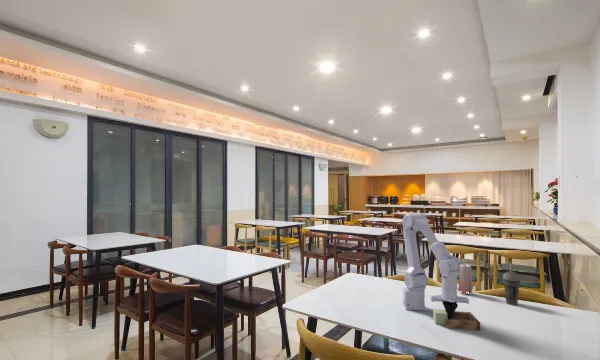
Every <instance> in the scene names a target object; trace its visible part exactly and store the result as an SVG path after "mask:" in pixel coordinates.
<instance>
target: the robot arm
mask: <svg viewBox="0 0 600 360" xmlns="http://www.w3.org/2000/svg"><path fill="white" fill-rule="evenodd" d="M401 221H402V222H401V223H402V233H403V238H404V239H403V240H404V241H403V242H404V245H405V253H406V259H407V264H408V268H407V269H406V270H405V272H404V283H405V284H404V285H405V286H406V287H404V288H403V290H402V292H403V296H402V297H403V299H402V302H403V306H404V308H405V310H408V311H421V312H423V311H426V312H427V311H428V309H427V307H426V306H425V305H426V303H425V301H426V299H425V297H426V296H425V293H426V292H425V291H426V290H425V289H426V288H427V286H428V285H429V278H428V276H427V274H426V270H425V269H423V268H422V267H421V266H422V265H421V261H420V260H421V259H420V256H419V247H418V243H417V242H418V241H417V235H416V234H417V233H418V231H419V232H421V234H422V235H423V236H424V238H425V239H426V240H427V241H428V243H429V244H430V250H431V252H432V253H433V255H434V257H435V258H436V260H437V261H438V265H437V266H438V268H439V270H440V276H441V294H438V295H437V294H436V295H430V301H431V302H434V303H435V302H439V303H440V302H441V303H442V306H443V308H444V310H445V311H446V313H447V319H452V318H453V314H454V312H455V311H456V310H457V309H458V306H459V305H458V303H460V304H463V303H464V304H466V305H467V304H468V305H469V304H470V299H469V298H468V297H467V296H458V279H457V278H458V275H457V274H458V273H457V271H459V268H460V264H461V263H460V261H459V259H458V258H457V257H456V256H453V255H452V254H451V253H450V251H449V250H448V249H447V247H446V245H445V243H443V242H441V241H439V240H438V238H437V237H436V235H435V233H434V231H433V230H432V228H431V226H430V224H429V219H428V218H427V216H426V215H425V213H411V214H410V213H405V215H404V216H403V217H402V219H401ZM452 320H453V319H452Z"/></svg>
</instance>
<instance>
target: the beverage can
mask: <svg viewBox="0 0 600 360" xmlns="http://www.w3.org/2000/svg"><path fill="white" fill-rule="evenodd" d="M472 284H473V283H472V265H471V264H467V263H460V268H459V270H458V292H459V293H460V291H462V292H461V293H460V294H462V295H464V294H465V296H470V295H471V294H473V292H472V291H473V290H472V289H473V288H472V286H473V285H472ZM466 292H469V294H468V293H466ZM470 293H471V294H470Z"/></svg>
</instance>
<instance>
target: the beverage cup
mask: <svg viewBox="0 0 600 360" xmlns="http://www.w3.org/2000/svg"><path fill="white" fill-rule="evenodd" d="M502 275H503V276H502V282H503V286H504V296H505V302H506V304H507V305H509V306H518V302H519V292H520V286H521V285H520V284H521V279H520V276H519V274H518V273H516V272H515V271H512V261H509V270H508V271H506V272H504V274H502Z"/></svg>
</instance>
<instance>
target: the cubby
mask: <svg viewBox="0 0 600 360" xmlns="http://www.w3.org/2000/svg"><path fill="white" fill-rule="evenodd" d="M445 328H446V329H456V330H459V329H460V330H471V331H472V330H473V331H481V321H479V319H477V318H476V317H475V316H474V314H473V313H472V312H470V311H456V310H455V312H454V314H453V318H452V319H445Z"/></svg>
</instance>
